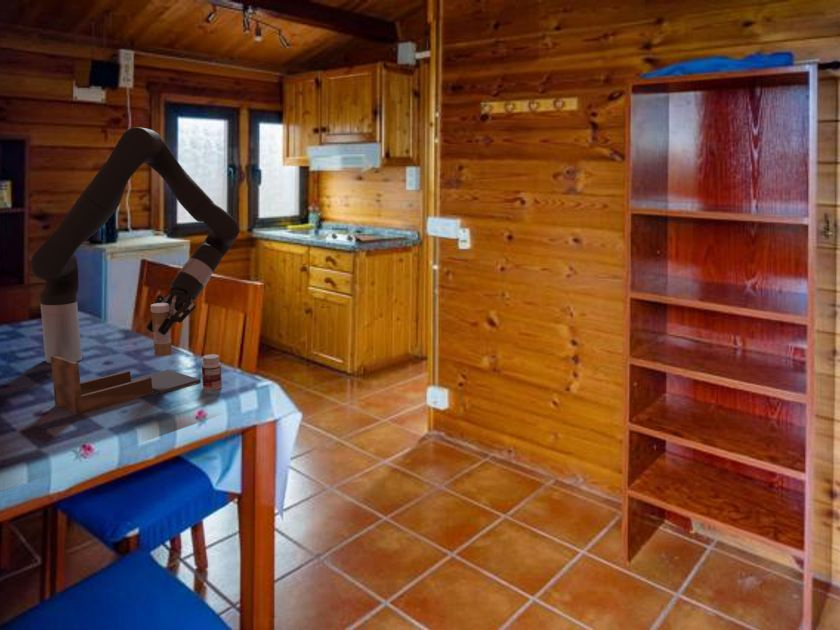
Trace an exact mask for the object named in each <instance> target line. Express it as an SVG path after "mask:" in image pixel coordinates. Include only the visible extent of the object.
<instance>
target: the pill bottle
mask: <svg viewBox="0 0 840 630" xmlns="http://www.w3.org/2000/svg"><path fill="white" fill-rule="evenodd" d="M201 376H202V388H203V390H206V391H215V389H216V390H220V388H222V386H223V381H222V380H223V379H222V363H220V355H218V354H214V353H211V354H205V355H203V356H202V364H201Z"/></svg>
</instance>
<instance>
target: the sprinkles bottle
mask: <svg viewBox="0 0 840 630" xmlns="http://www.w3.org/2000/svg"><path fill="white" fill-rule="evenodd" d="M154 303H155V302H154ZM154 303H153V304H150V311H151V312H152V313H151V312H150V313H151V319H152V323H153V332H152V339H153V347H154V348H153V349H154V353H153V355H154V356H155V357H168V356H170V355H172V354H173V350H172V349H173V348H172V332H171V331H172V330H171V329H172V327H171V328H170V329H169V331H168V332H167V333H166V334H165V335H162V334H161V333H160V332H158V329H159V327H160V326H161V324H162V323H163V322H164V320H165V319H167V316H168V314H169V308H170V307H169V304H168V303H155V304H154Z"/></svg>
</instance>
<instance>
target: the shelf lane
mask: <svg viewBox="0 0 840 630" xmlns="http://www.w3.org/2000/svg"><path fill="white" fill-rule="evenodd" d="M50 365H51V375H52V384H53V395H54V405H55V406H56V405H57V406H56V407H58V406H60V407H59V408H61V407H62V408H61V409H64V408H65V409H64V410H66V409H67V410H66V411H69V410H70V411H69V412H71V411H72V412H71V413H73V414H76V413H77V415H81V413H82V414H85V413H88V412H87V411H89V412H92V411H95V410H94V409H96V410H98V408H99V409H102V408H101V407H103V408H106V407H109V405H110V406H113V405H116V404H120V403H122V402H123V403H124V402H127V401H130V400H133V399H136V398H141V397H143V396H148V395H151V394H153V391H152V378H150V377H148V378H144V379H140V380H136V381H133V382H131V379H132V375H131V371H130V370H126V371H122V372H117V373H114V374H113V373H112V374H108V375H105V376H102V377H96V378H94V379H93V378H91V379H90V380H89V379H88V380H86V381H81V379H80V377H81V375H80V364H79V361H77V362H74V361H71V360H68V359H65V358H62V357H59V356H55V355H54V356H51V364H50ZM105 406H106V407H105ZM91 410H92V411H91ZM84 412H85V413H84Z"/></svg>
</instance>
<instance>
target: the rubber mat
mask: <svg viewBox="0 0 840 630" xmlns="http://www.w3.org/2000/svg"><path fill="white" fill-rule="evenodd" d="M148 377H150V378H152V392H155V393H157V394H165V393H168V392H171V391H175V390H178V389H181V388H185V387H187V386H191V385H195V384H199V383H202V382H201V379H200V378H197V377H195V376H190V375H188V374H185V373H184V374H183V373H180V372H177V371H173V370H169V369H165V370H162V371H158V372H153V373H149V374H146V375H142V376H138V377H135V378H131V382H133V381H136V380H140V379H144V378H148Z"/></svg>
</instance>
